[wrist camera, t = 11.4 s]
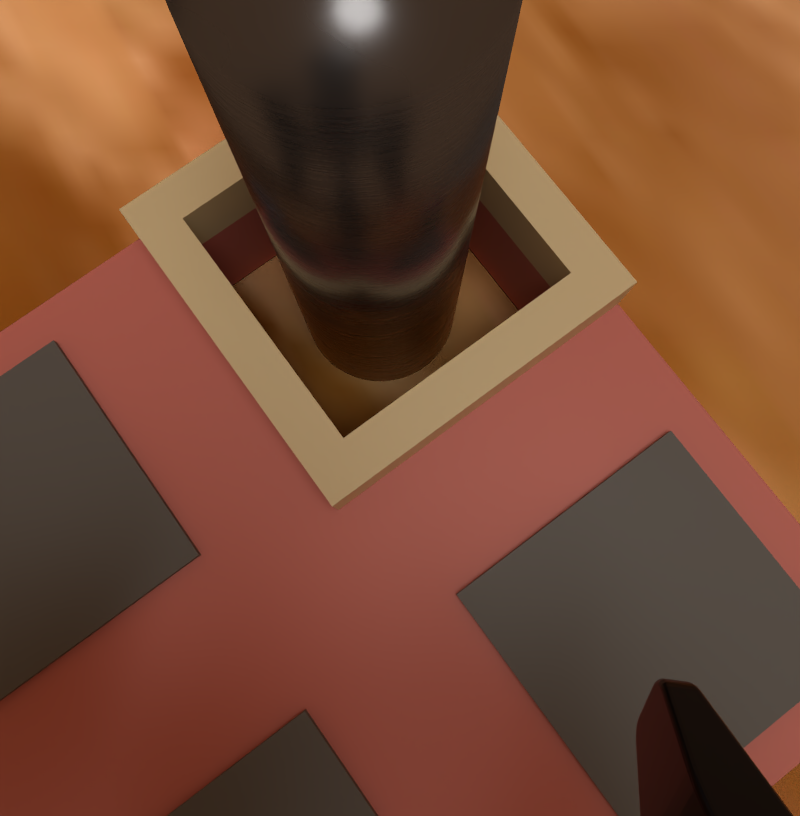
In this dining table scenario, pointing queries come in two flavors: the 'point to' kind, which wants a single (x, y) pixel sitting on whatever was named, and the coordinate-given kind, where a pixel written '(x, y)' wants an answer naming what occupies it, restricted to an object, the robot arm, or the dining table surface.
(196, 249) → the pink control box
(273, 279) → the dining table surface
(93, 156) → the dining table surface
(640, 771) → the robot arm
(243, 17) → the stool leg
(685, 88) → the dining table surface
